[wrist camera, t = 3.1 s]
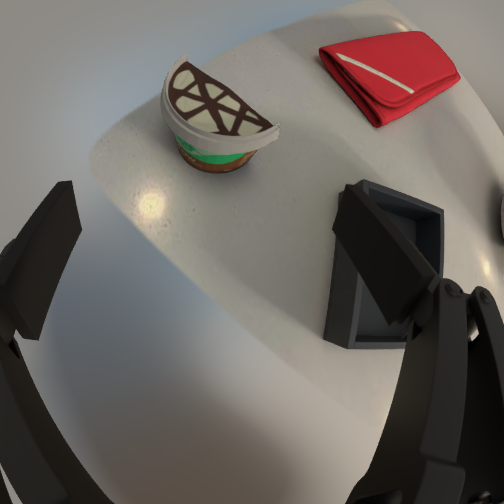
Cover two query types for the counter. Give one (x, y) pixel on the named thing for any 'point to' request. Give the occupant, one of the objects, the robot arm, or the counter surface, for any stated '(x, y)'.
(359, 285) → the bin
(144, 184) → the counter surface
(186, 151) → the halved ice cream tub
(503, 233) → the ramen bowl
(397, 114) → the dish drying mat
